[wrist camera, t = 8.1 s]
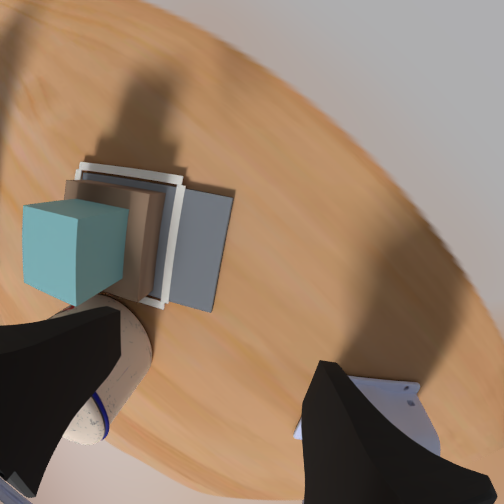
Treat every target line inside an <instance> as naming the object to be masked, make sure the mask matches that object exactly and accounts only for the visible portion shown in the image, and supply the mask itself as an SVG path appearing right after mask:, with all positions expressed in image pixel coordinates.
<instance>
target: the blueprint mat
mask: <svg viewBox="0 0 504 504" xmlns="http://www.w3.org/2000/svg"><path fill="white" fill-rule="evenodd" d="M82 170H87V171H94V172H102V173H109V174H116V175H123V176H129V177H136V178H142V179H148V180H154V181H160V182H166V183H172V184H177V187H174V186H169V185H163V184H157V183H151V182H145V181H139V180H133V179H126V178H120V177H113V176H106V175H99V174H92V173H83V178H82V180H92V181H99V182H105V183H111V184H117V185H123V186H129V187H135V188H141V189H146V190H152V191H158V192H163V193H166V196H165V202H164V208H163V214H162V221H161V228H160V235H159V242H158V250H157V258H156V267H155V276H154V286H153V291H151V292H150V293H149V294H148V295H150V296H153V297H157V298H160V299H161V301H159V300H156V299H153V298H149V297H146V296H145V297H144V298H143V299H142V300H140V301H139V302H140V303H143V304H146V305H149V306H152V307H156V308H159V309H162V310H164V306H165V303H167V304H168V303H169V301H170V302H174V303H177V304H181V305H184V306H188V307H191V308H195V309H199V310H202V311H206V312H210V313H211V312H212V309H213V304H214V298H215V292H216V287H217V281H218V276H219V271H220V265H221V260H222V255H223V249H224V244H225V239H226V234H227V229H228V224H229V219H230V214H231V209H232V204H233V199H234V198H231V197H226V196H221V195H216V194H211V193H206V192H201V191H196V190H191V189H186V186H184V185H182V182H183V176H179V175H173V174H167V173H161V172H155V171H148V170H141V169H134V168H127V167H119V166H112V165H104V164H95V163H86V162H80V166H79V169H76V174H75V180H81V175H82Z"/></svg>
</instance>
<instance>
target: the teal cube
mask: <svg viewBox="0 0 504 504" xmlns="http://www.w3.org/2000/svg"><path fill="white" fill-rule="evenodd" d="M128 214H129V209H125V208H120V207H115V206H110V205H105V204H100V203H95V202H90V201H85V200H80V199H69V200H60V201H52V202H44V203H37V204H30V205H23V230H22V248H23V273H24V283H26V284H28V285H30V286H32V287H34V288H36V289H38V290H40V291H42V292H45V293H47V294H49V295H51V296H53V297H55V298H57V299H60V300H62V301H64V302H66V303H69V304H71V305H73V306H75V307H77V306H79V305H80V304H82V303H83V302H85V301H87V300H88V299H90V298H91V297H93V296H95V295H96V294H98V293H99V292H101V291H103V290H104V289H106V288H108V287H109V286H111V285H113V284H114V283H116V282H118V281H119V280H121V279H122V278H123V263H124V251H125V240H126V231H127V222H128Z"/></svg>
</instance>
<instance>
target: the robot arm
mask: <svg viewBox="0 0 504 504" xmlns="http://www.w3.org/2000/svg"><path fill="white" fill-rule="evenodd" d="M120 357H121V311H120V310H117V309H114V308H112V307H109V306H103V307H98V308H93V309H89V310H85V311H81V312H77V313H73V314H70V315H66V316H62V317H57V318H53V319H48V320H43V321H38V322H33V323H26V324H18V325H5V326H0V476H1V477H2V478H3V479H4V480H5V481H7V482H8V483H9V484H11V485H12V486H13V487H15V488H16V489H17V490H18V491H19V492H21V493H22V494H23V495H24V496H26V497H28V498H30V497H31V498H32V497H36V494H37V491H38V488H39V485H40V482H41V480H42V477H43V474H44V472H45V470H46V467H47V465H48V463H49V461H50V459H51V456H52V454H53V452H54V450H55V448H56V447H57V445H58V443H59V441H60V439H61V438H62V436H63V434H64V432H65V431H66V429H67V428H68V426H69V424H70V423H71V421H72V420H73V418H74V417H75V415H76V414H77V413H78V412H79V410H80V409H81V408H82V407H83V406H84V404H85V403H86V402H87V401H88V400H89V399H90V397H91V396H92V395H93V394H94V393H95V391H96V390H97V389H98V388H99V387H100V386H101V384H102V383H103V382H104V381H105V380H106V378H107V377H108V376H109V375H110V373H111V372H112V370H113V369H114V367H115V365H116V364H117V362H118V360H119V359H120ZM406 386H407V387H406ZM405 387H406V388H405ZM419 389H420V385H419V383H418V382H406V381H393V380H382V379H372V378H363V377H355V376H348V375H347V374H346V373H345V372H344V371H343V370H342V368H341V367H340V366H339V365H338V364H337V363H334V362H328V361H321V360H320V361H319V363H318V366H317V369H316V371H315V374H314V376H313V379H312V381H311V384H310V386H309V388H308V391H307V393H306V396H305V398H304V400H303V403H302V417H301V419H300V421H299V423H298V425H297V427H296V429H295V431H294V438H295V439H301V440H302V444H303V457H304V470H305V495H304V500H302V504H494V502H495V501H496V499H497V494H496V491H495V489H494V487H493V485H492V483H491V481H490V478H489V477H488V476H487V475H484V474H481V473H478V472H475V471H472V470H469V469H466V468H463V467H461V466H458V465H456V464H454V463H452V462H450V461H448V460H445V459H443V458H441V457H440V441H439V437H438V435H437V433H436V431H435V429H434V427H433V425H432V423H431V421H430V419H429V417H428V415H427V413H426V411H425V409H424V407H423V406H422V404H421V402H420V400H419V398H418V396H417V392H418V391H419ZM4 480H2V479H1V478H0V500H1V502H3V503H4V504H32V503H31V502H29V501H28V500H27V499H26V498H24V497H23V496H22V495H20V494H19V493H18V492H17V491H15V490H14V489H13V488H12V487H11V486H9V485H8V484H7V483H6V482H5V481H4Z"/></svg>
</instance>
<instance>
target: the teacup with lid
mask: <svg viewBox="0 0 504 504" xmlns="http://www.w3.org/2000/svg"><path fill="white" fill-rule="evenodd" d="M103 306H109V307H112V308H114V309H117V310H120V311H121V357H120V359H119V360H118V362H117V364H116V365H115V367H114V369H113V370H112V372H111V373H110V375H109V376H108V377H107V378H106V380H105V381H104V382H103V383H102V384H101V386H100V387H99V388H98V389H97V390H96V391H95V393H94V394H93V395H92V396H91V397H90V399H89V400H88V401H87V402H86V403H85V404H84V406H83V407H82V408H81V409H80V410H79V412H78V413H77V414H76V415H75V417H74V418H73V420H72V421H71V423H70V424H69V426H68V428H67V429H66V431H65V432H64V434H63V436H62V437H64V438H66V439H68V440H70V441H72V442H75V443H78V444H83V445H90V444H95V443H98V442H99V441H101V440H103V439H104V438H105V437H106V436H107V434H108V432H109V425H110V424H111V423H112V421H113V420H114V418H115V417H116V416H117V414H118V413H119V411H120V410H121V408H122V407H123V406H124V404H125V403H126V401H127V400H128V399H129V397H130V396H131V394H132V393H133V392H134V390H135V389H136V387H137V386H138V385H139V383H140V382H141V380H142V379H143V378H144V376H145V375H146V374H147V372H148V370H149V368H150V366H151V361H152V349H151V344H150V341H149V338H148V336H147V333H146V331H145V330H144V328H143V326H142V325H141V323H140V322H139V320H138V319H137V318H136V317H135V315H134V314H133V313H132V312H131V311H130V310H129V309H128V308H126V307H125V306H124V305H123V304H121V303H120V302H118V301H116V300H114V299H112V298H110V297H107V296H104V295H95V296H93V297H91V298H90V299H88V300H87V301H85V302H83V303H82V304H80V305H79V306H77V307H75V306H73V305H70V306H68V307H66V308H65V309H63V310H61V311H60V312H58V313H57V314H55V315H53V316H52V317H50V318H49V319H53V318H57V317H62V316H66V315H70V314H73V313H77V312H81V311H85V310H89V309H93V308H98V307H103ZM47 320H48V319H47Z"/></svg>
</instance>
